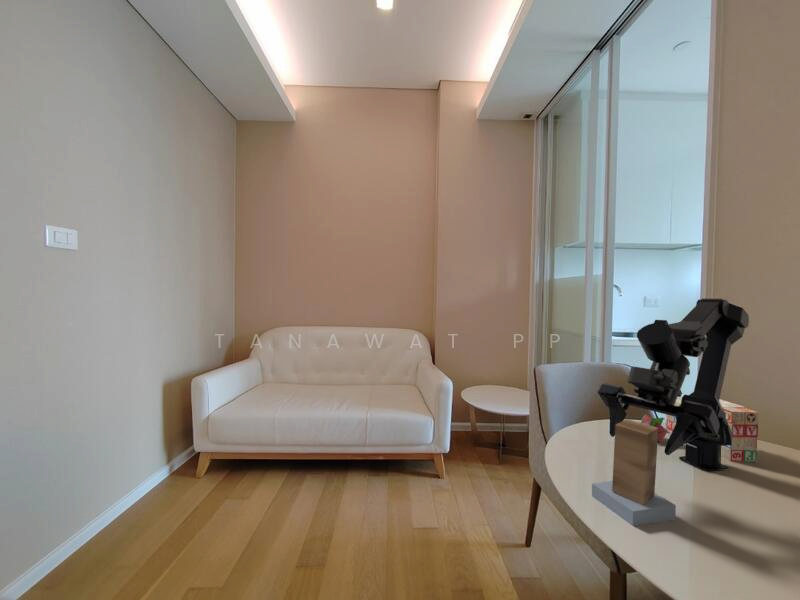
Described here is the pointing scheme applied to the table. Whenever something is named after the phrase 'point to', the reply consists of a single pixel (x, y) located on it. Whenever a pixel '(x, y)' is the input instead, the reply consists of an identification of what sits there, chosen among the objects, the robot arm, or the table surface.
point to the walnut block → (635, 460)
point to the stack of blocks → (734, 431)
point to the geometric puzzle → (655, 425)
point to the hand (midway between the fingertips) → (637, 444)
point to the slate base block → (634, 506)
